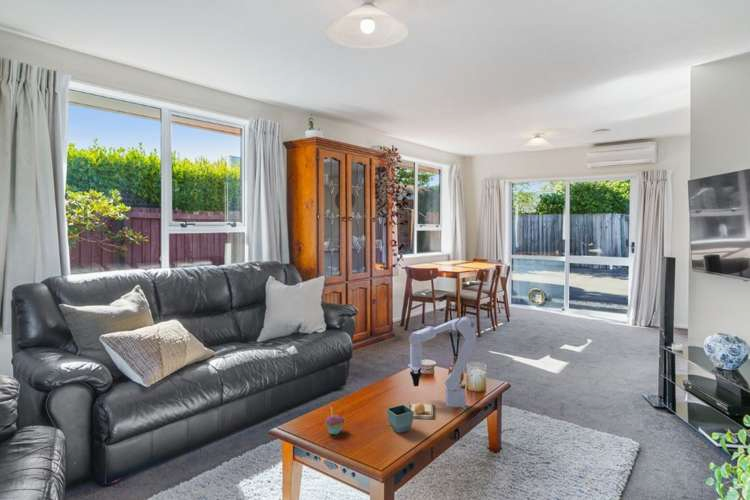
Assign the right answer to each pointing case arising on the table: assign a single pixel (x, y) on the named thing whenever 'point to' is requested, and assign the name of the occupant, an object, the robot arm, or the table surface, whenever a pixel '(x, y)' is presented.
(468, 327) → the robot arm
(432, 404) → the rails
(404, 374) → the table surface
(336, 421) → the cupcake
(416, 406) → the ball
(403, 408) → the flower pot
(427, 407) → the lane
